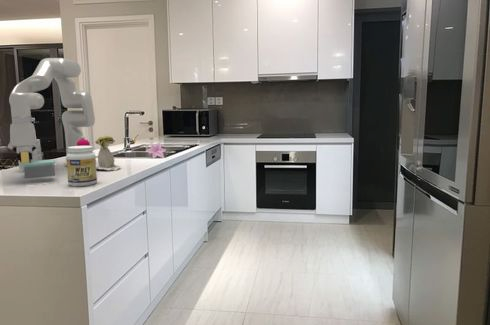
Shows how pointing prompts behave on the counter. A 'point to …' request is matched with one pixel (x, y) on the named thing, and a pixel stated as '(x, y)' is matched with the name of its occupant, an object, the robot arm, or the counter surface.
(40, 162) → the lid
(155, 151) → the lily
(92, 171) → the supplement tub
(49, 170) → the tub
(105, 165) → the potted plant
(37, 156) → the supplement box
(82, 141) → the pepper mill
